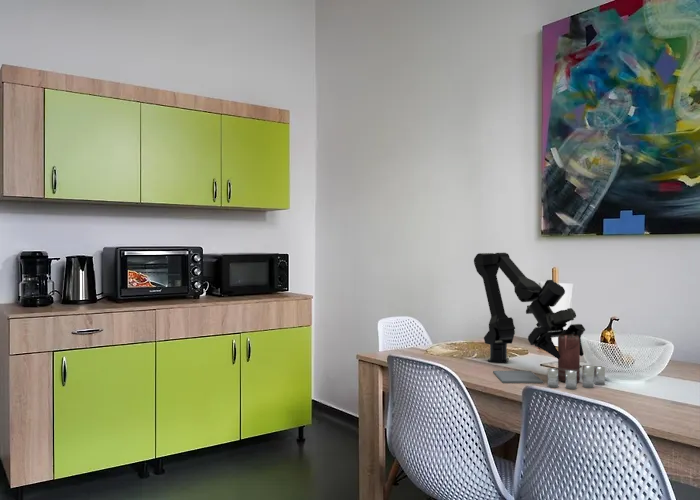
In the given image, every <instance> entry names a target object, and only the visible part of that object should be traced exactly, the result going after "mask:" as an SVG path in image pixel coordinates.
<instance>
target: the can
mask: <svg viewBox="0 0 700 500" xmlns="http://www.w3.org/2000/svg"><path fill="white" fill-rule="evenodd" d="M557 351H558V352H559V354H560V358H559V359H557V369H558V382H561V383H565V384H566V370H568V369H570V370H576V371H577V383H579V382H580V378H581V377H580V376H581V375H580V371H581V370H580V369H581V367H580V366H581V365H580V363H581V362H580V357H581V356H580V339H579V337H578V335H574V334H560V335H559V337H557Z"/></svg>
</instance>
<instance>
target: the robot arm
mask: <svg viewBox="0 0 700 500" xmlns="http://www.w3.org/2000/svg"><path fill="white" fill-rule="evenodd" d="M473 264H474V266H475V267H474V268H475V269H476V270H475V271H476V273H478V275H479V276H480V277H481V278H482V281H483V285H484V291H485V295H486V299H487V300H486V301H487V303H488V307H489V312H490V313H489V314H490V318H489V322H488V331H487V333H486V334H485V335H484V337H483V340H484V344H486V345H490V346H489V347H490V348H489V349H490V350H489V353H490V354H489V358H488V359H487V362H491V363H492V362H493V363H502V364H503V363H508V362H509V361H510V358H509V357H508V351H507V350H508V348H507V346H508V344H513V340H514V337H515V333H516V330H515V329H516V327H515V325H514V318H512V317H509V315H507V314H506V311H505V308H504V303H503V299H502V293H501V289H500V285H499V280H498V276H497V275H498V272H499V269H500V270H501V272H502V273H503V274H504V275H505V277H506V278H507V279H508V280H509V281H510V282H511V284H512V285H513V286H514V294H515V295H516V296H517V299H518V300H519V301H520V302H521V303H530V304H529V305H528V304H527V305H526V310H525V313H526V315H529V314H530V315H533V317H534V318H535V320H536V321H537V323H536V324H535V325H536V327H534V328H533V329H532V331H531V332H530V333H529V334H528V336H527V340H528V342H529V343H530V345H531V346H534V347H535V348H536V347H537V348H539V349H541V350H543V351H545V352H546V353H548V354H550V355H551V356H553V357H554V358H555V359H557V360H558V359H559V358H560V354H559V352H558V348H557V347H556V346H555V344H554V342H553V341H552V340H553V339H552V338H558V337H559V335H560V334H574V335H578V337H579V339H580V357H583V356H584V350H583V349H584V348H583V345H582V340H581V338H582V335H583V334H584V332H585V331H586V328H585V327H584V326H583V324H581V323H575V324H574V323H573V324H570V325H569V326H568V324H567V323H568V322H570V321H574V320H575V319H576V317H577V315H576V311H575V310H574V309H573V308H569V307H568V308H567V309H561V310H558V311H556V312H554V311H553V310H552V307H555V306H557V304H558V302H559V301H560V300H561V299H562V297H563V296H564V295H565V293H566V290H565V288H564V287H563V286H562V285H560V284H559V283H557V282H555V281H554V280H553V279H547V280H545V283H544V284H543V286H542V287H541V285H539V284H538V283H537V282H536V281H534V280H533V279H530V278H529V277H527V276H526V275H525V273H523V271H522V270H521V269H520V268H519V267H518V266H517V265H516V263H515V262H514V261H513V260H512V258H510V255H509V253H507V252H495V253H493V252H488V253H487V252H483V253H482V252H478V253H477V254H476V255H475V256H474V258H473ZM566 326H568V327H567V328H566ZM564 328H566V329H564Z"/></svg>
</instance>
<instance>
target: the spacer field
mask: <svg viewBox="0 0 700 500" xmlns="http://www.w3.org/2000/svg"><path fill="white" fill-rule="evenodd" d="M581 369H582V374H581V375H582V387H583V388H587V389H592V388H594V387H595V386H594V385H596V386H604V385H606V367H605V366H604V367H602V366H593V365H591V364H583V365H582V368H581ZM577 386H578V385H577V371H576V370H570V369H568V370H566V383H565V389H567V390H576V388H577V389H578V387H577ZM547 387H548V388H553V389H555V388H559V379H558V368H555V367H548V368H547Z"/></svg>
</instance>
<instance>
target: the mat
mask: <svg viewBox="0 0 700 500" xmlns="http://www.w3.org/2000/svg"><path fill="white" fill-rule="evenodd" d="M492 373H493V375H495V377H497V379H498V380H499V381H500V382H501V383H502V384H544V380H543V379H541V378H540V377H539V376H537V375H536V374H535V373H534V372H533V371H532V370H492Z"/></svg>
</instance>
